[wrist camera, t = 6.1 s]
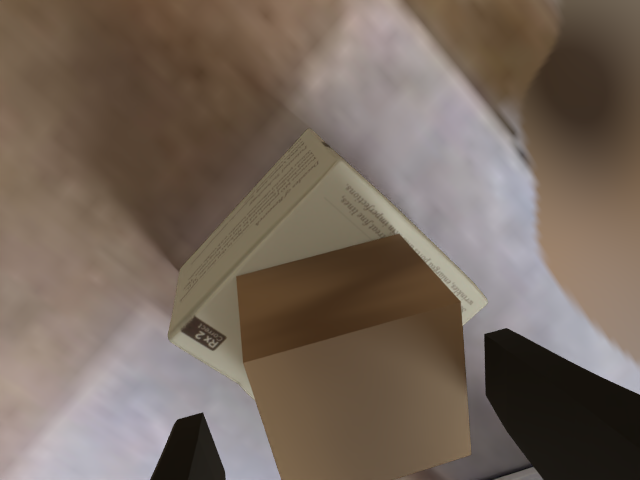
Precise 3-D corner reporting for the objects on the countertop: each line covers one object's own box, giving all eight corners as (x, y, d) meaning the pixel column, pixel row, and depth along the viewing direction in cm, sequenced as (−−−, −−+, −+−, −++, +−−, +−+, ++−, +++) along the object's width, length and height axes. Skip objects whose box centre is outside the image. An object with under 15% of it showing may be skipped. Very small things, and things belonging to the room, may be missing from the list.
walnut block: (399, 233, 14) (460, 301, 11) (415, 362, 16) (471, 454, 13) (236, 276, 14) (242, 363, 10) (274, 403, 16) (291, 512, 12)
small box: (434, 244, 21) (496, 305, 16) (310, 363, 22) (336, 451, 17) (308, 120, 17) (342, 153, 13) (172, 268, 19) (158, 346, 14)
